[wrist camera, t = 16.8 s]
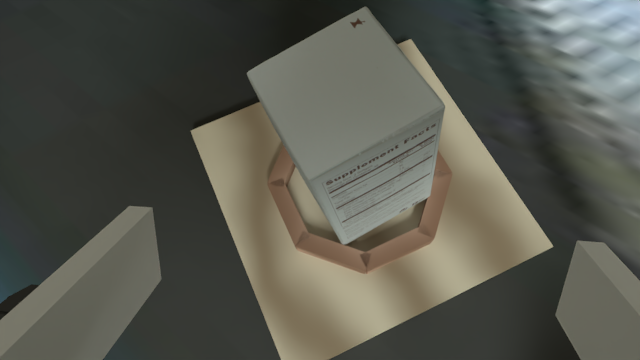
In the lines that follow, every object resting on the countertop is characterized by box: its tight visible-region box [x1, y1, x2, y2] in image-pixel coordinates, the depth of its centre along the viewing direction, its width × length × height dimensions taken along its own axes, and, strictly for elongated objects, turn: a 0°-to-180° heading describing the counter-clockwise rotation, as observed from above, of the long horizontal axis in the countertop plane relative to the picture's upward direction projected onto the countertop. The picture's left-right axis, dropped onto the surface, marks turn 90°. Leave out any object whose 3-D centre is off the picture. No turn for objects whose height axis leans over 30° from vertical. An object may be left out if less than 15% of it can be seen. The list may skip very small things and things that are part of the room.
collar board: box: [191, 39, 553, 360], centre depth 33 cm, size 20×20×2 cm
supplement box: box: [247, 7, 445, 245], centre depth 27 cm, size 7×7×13 cm
